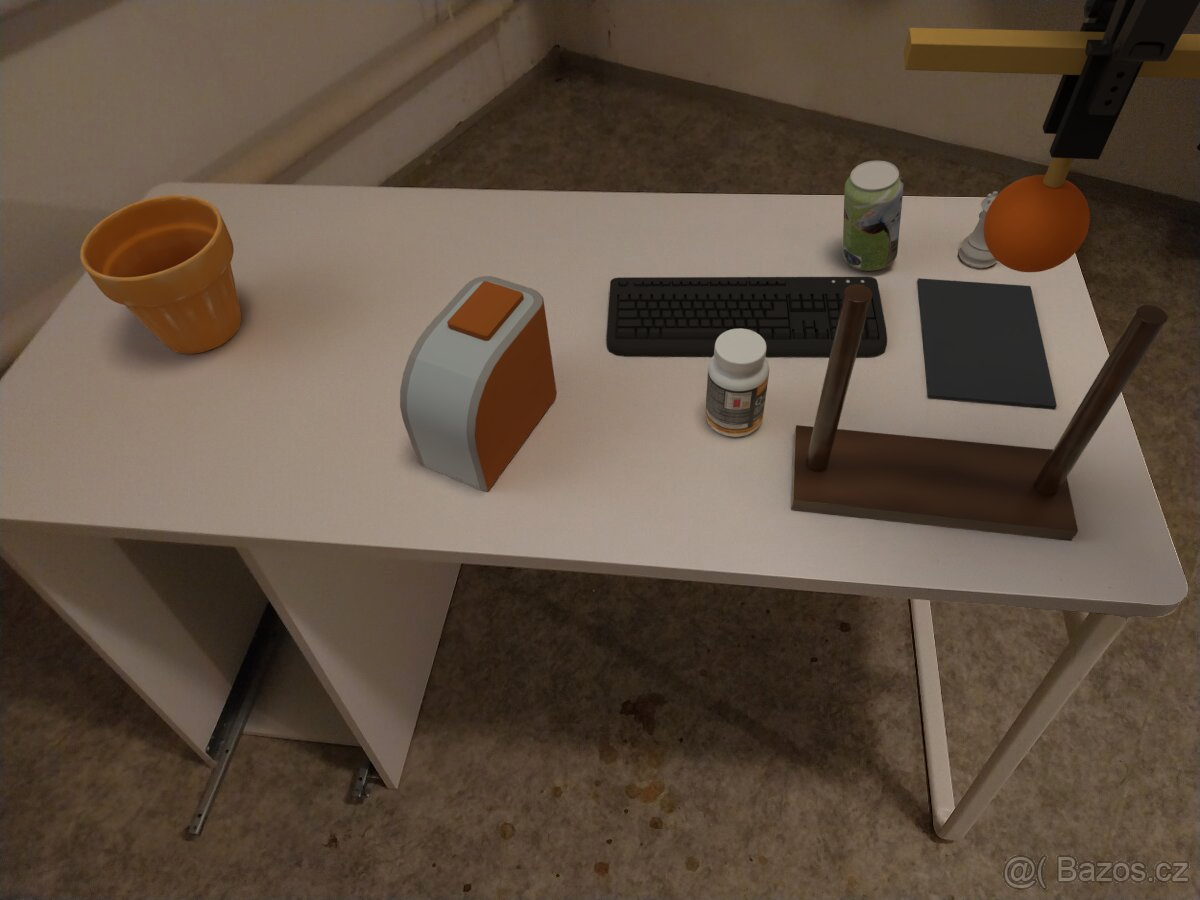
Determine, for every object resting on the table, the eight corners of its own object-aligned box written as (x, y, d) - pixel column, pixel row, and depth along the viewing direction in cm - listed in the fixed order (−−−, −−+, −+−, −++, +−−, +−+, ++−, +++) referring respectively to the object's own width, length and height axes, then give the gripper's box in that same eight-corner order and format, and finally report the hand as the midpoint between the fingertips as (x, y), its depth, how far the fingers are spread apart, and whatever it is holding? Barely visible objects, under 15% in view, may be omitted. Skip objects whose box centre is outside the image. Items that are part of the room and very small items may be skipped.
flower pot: (280, 286, 100) (238, 192, 90) (245, 371, 91) (194, 277, 81) (166, 288, 101) (112, 195, 91) (121, 372, 92) (54, 280, 82)
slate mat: (1055, 409, 82) (1057, 406, 81) (927, 398, 83) (929, 394, 83) (1029, 289, 93) (1030, 285, 92) (917, 281, 94) (918, 278, 94)
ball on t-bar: (1200, 303, 55) (1353, 74, 43) (860, 280, 59) (913, 61, 46) (1176, 243, 59) (1309, 18, 47) (858, 225, 63) (907, 10, 50)
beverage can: (904, 268, 96) (931, 176, 87) (849, 286, 95) (870, 194, 85) (874, 237, 100) (896, 146, 90) (820, 254, 98) (837, 163, 89)
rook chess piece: (994, 246, 98) (1017, 186, 91) (1000, 270, 95) (1024, 211, 89) (954, 244, 98) (974, 185, 92) (959, 269, 95) (980, 209, 89)
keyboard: (606, 356, 90) (605, 342, 88) (611, 289, 96) (610, 276, 95) (888, 357, 87) (892, 343, 86) (873, 289, 94) (876, 275, 92)
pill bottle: (766, 438, 81) (777, 366, 74) (707, 440, 82) (712, 369, 74) (758, 395, 85) (768, 322, 77) (702, 397, 85) (706, 325, 77)
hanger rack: (1071, 540, 72) (1200, 361, 55) (791, 510, 76) (830, 332, 59) (1055, 460, 78) (1167, 274, 61) (794, 434, 81) (830, 252, 64)
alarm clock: (495, 364, 90) (473, 263, 79) (564, 388, 87) (551, 287, 76) (415, 462, 82) (379, 365, 71) (488, 492, 79) (462, 396, 68)
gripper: (1150, -413, 39) (991, 80, 57) (1252, -353, 29) (1023, 212, 48) (1330, -422, 38) (1109, 83, 56) (1494, -363, 28) (1165, 219, 47)
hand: (1070, 142), depth 52 cm, fingers closed on ball on t-bar, 2 cm apart
